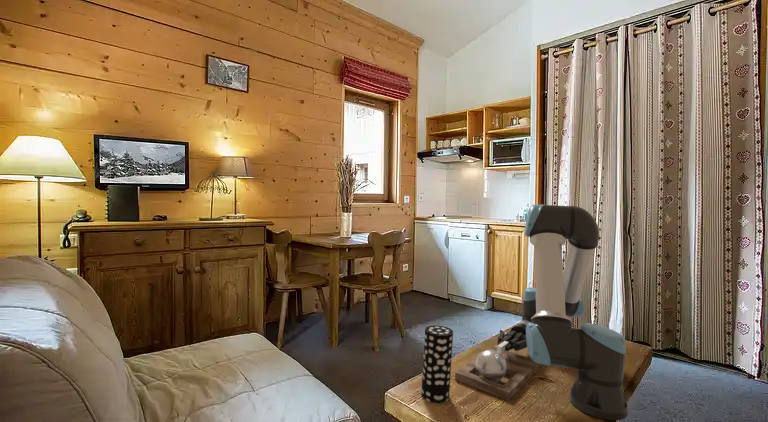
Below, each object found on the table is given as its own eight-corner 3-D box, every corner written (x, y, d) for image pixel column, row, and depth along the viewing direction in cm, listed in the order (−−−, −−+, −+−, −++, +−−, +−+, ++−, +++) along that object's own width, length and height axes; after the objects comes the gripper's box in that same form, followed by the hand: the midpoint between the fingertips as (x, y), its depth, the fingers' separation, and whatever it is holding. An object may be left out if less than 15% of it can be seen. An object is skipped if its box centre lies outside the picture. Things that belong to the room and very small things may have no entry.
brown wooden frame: (492, 352, 148) (492, 346, 148) (540, 368, 137) (540, 361, 137) (455, 379, 125) (455, 372, 125) (508, 400, 114) (509, 392, 114)
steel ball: (512, 361, 119) (511, 387, 122) (500, 341, 129) (499, 366, 132) (481, 365, 119) (481, 391, 122) (471, 345, 128) (471, 369, 131)
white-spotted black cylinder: (430, 385, 120) (434, 323, 119) (454, 395, 115) (458, 330, 114) (415, 395, 114) (419, 330, 113) (439, 406, 109) (444, 337, 108)
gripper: (539, 347, 144) (517, 367, 125) (505, 337, 152) (480, 355, 134) (541, 327, 143) (519, 345, 125) (507, 319, 152) (481, 334, 133)
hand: (499, 350), depth 129 cm, fingers closed
